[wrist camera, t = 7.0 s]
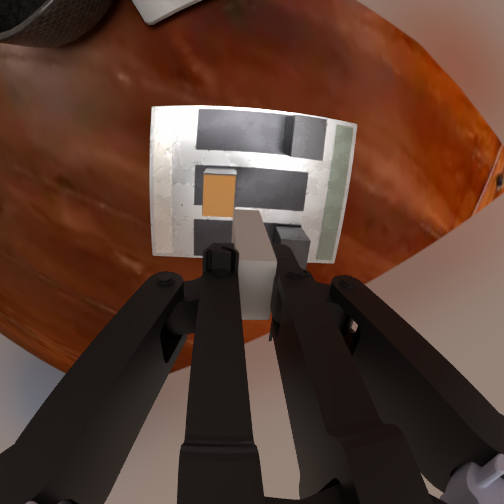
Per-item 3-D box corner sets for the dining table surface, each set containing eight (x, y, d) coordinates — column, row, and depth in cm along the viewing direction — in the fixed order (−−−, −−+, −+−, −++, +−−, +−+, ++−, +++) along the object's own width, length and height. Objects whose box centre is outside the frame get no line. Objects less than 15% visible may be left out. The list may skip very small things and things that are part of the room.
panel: (156, 248, 34) (143, 273, 28) (156, 108, 27) (139, 103, 21) (329, 256, 36) (346, 280, 30) (350, 124, 29) (375, 124, 23)
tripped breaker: (205, 204, 29) (201, 217, 25) (207, 167, 28) (202, 173, 24) (233, 205, 30) (234, 218, 26) (236, 168, 28) (236, 175, 24)
